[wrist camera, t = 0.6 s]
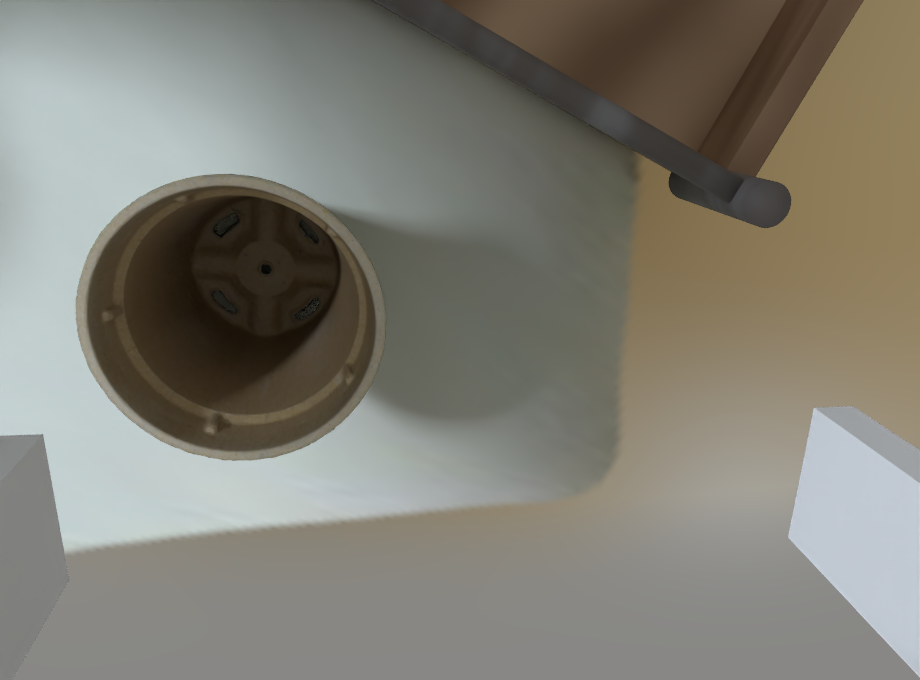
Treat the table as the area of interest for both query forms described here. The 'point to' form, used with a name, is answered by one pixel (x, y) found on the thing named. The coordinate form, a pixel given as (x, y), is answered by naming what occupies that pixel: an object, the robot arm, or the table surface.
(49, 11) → the table surface
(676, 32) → the wooden tray
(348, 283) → the flower pot
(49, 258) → the table surface
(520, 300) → the table surface
